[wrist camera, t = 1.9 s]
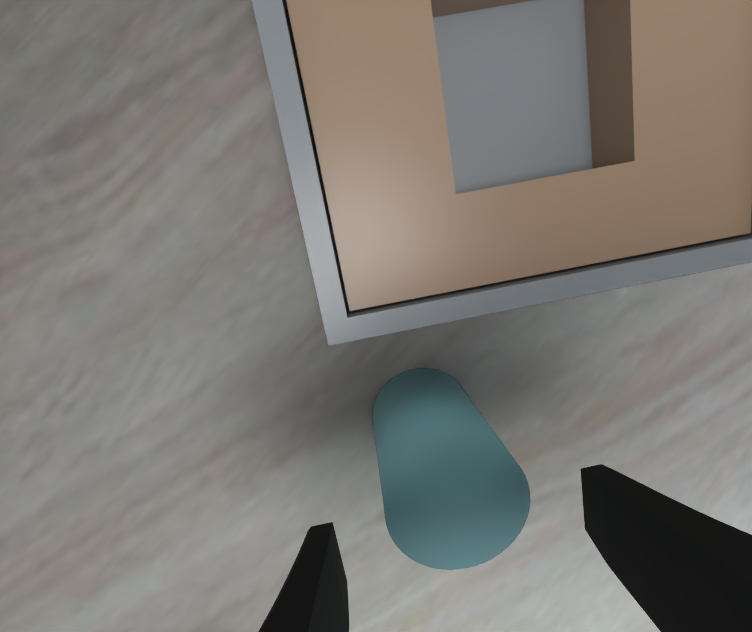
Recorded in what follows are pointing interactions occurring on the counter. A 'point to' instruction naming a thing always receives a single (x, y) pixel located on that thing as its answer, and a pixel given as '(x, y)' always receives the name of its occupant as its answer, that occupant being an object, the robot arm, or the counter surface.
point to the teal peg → (444, 473)
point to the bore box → (509, 149)
